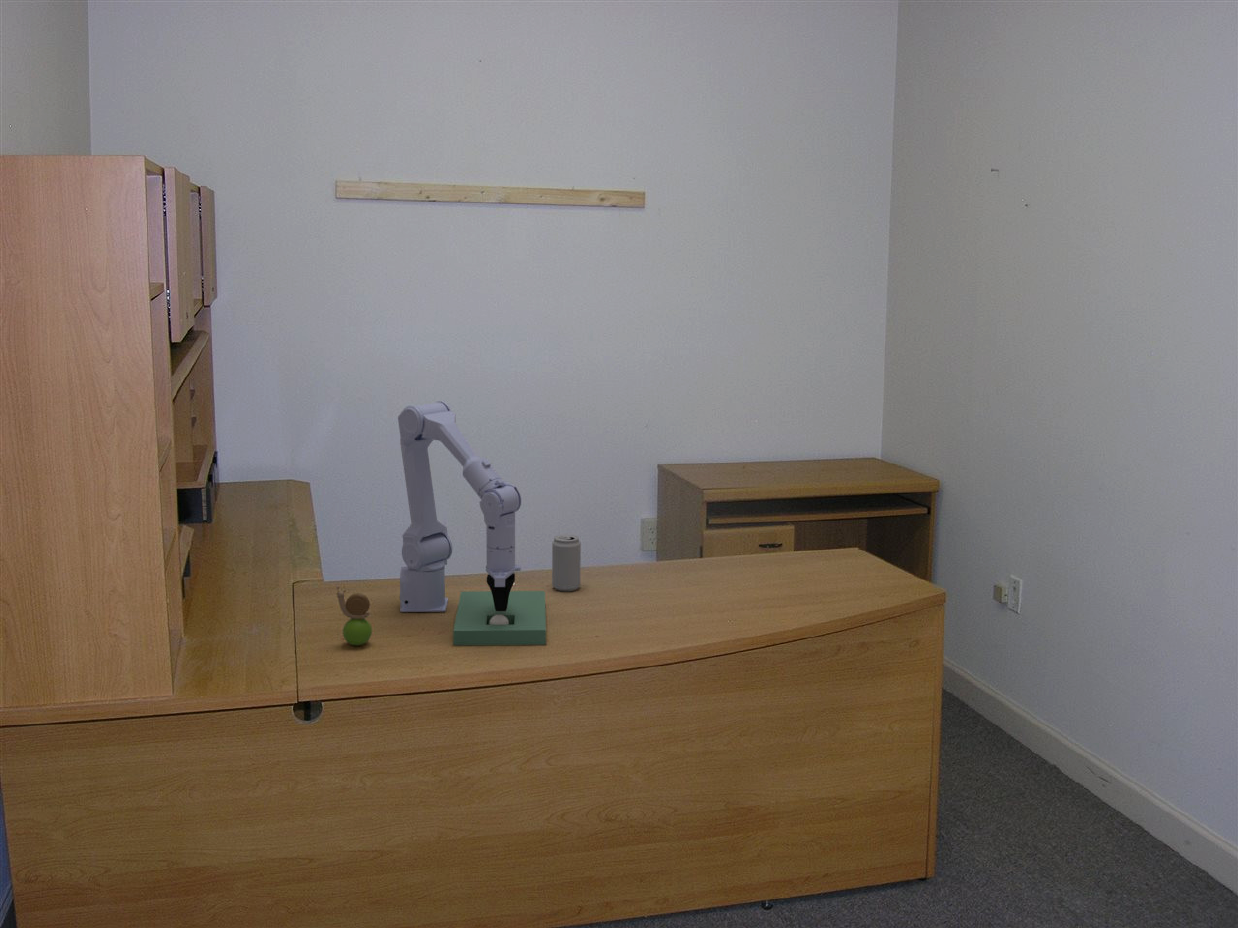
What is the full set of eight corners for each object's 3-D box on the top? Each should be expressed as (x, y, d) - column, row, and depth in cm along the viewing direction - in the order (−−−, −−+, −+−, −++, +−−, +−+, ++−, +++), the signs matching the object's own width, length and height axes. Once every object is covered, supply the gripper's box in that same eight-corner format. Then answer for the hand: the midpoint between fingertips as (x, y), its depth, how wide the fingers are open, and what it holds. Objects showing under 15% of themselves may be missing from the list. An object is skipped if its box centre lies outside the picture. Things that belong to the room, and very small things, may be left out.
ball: (488, 631, 217) (488, 612, 218) (489, 636, 221) (489, 617, 222) (508, 631, 217) (508, 611, 219) (509, 636, 221) (509, 617, 222)
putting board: (453, 645, 213) (453, 630, 213) (461, 604, 237) (461, 591, 236) (545, 644, 215) (545, 630, 214) (544, 604, 238) (544, 590, 238)
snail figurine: (340, 639, 215) (338, 581, 213) (373, 639, 216) (372, 581, 213) (336, 649, 210) (333, 590, 208) (370, 649, 211) (368, 589, 208)
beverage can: (576, 593, 246) (577, 542, 243) (548, 591, 247) (549, 539, 245) (583, 584, 252) (583, 534, 249) (556, 582, 253) (556, 532, 251)
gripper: (520, 555, 213) (520, 622, 215) (521, 535, 227) (521, 598, 230) (483, 555, 212) (484, 622, 215) (487, 535, 226) (487, 598, 229)
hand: (501, 610), depth 222 cm, fingers closed
